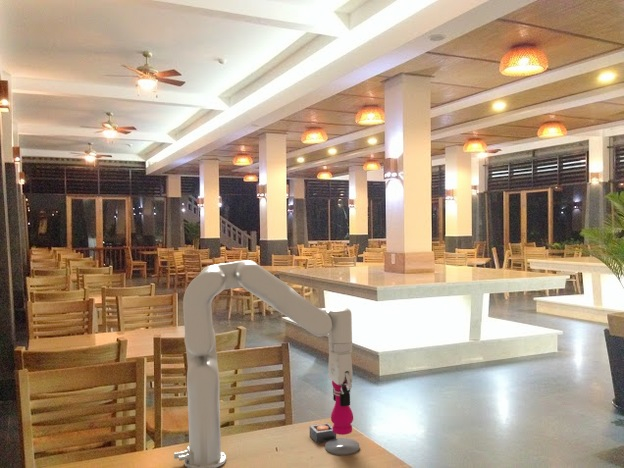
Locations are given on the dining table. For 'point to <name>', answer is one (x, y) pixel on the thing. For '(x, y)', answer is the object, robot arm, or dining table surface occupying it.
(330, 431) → the button housing
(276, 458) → the dining table surface
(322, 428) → the button
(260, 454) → the dining table surface
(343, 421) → the pepper mill
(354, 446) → the pad
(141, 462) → the dining table surface
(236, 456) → the dining table surface
